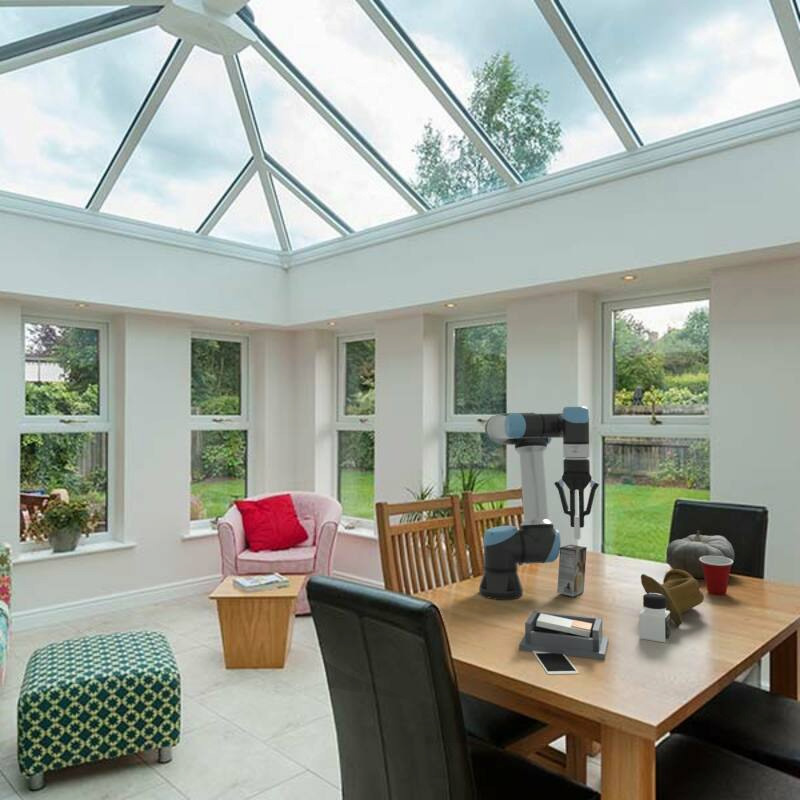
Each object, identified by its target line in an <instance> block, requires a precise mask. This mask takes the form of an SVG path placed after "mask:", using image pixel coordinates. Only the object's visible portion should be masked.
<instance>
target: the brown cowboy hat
mask: <svg viewBox="0 0 800 800" xmlns="http://www.w3.org/2000/svg"><path fill="white" fill-rule="evenodd" d="M640 580H641V585H642V587H643V589H644V592H645V594H648V593H657V594H661V595H663V596H665V597H666V610H667V611H670V619H672V620H671V621H673V623H674V626H675V627H678V628H679V627H680V626H681V625H682V618H681V616H682V614H684V613H686V612H688V611H690V610H691V609H693V608H695V607H697V606H699V605H701V604H702V603H703V602H704V599H705V595H704V593H703V592H701V590H700V585H699V582H698V580H697V579H695V577H693V576H691V575H690V574H689V573H688V572H686V571H684V570H678V569H673V568H672V569H670V570H668V571H667V572H666V573H665V575H664V577H663V580H662V581H663V582H662V584H661V583H660V582H658V581H657V580H656V579H654V578H653V577H651V576H649V575H647V574H645V573H642V574H641V576H640Z"/></svg>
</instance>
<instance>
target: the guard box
mask: <svg viewBox="0 0 800 800" xmlns="http://www.w3.org/2000/svg"><path fill="white" fill-rule="evenodd" d="M541 613H542V614H547V615H551V616H556V617H561V618H566V619H571V620H577V621H582V622H587V623H592V631H591V634H590V637H585V636H581V635H576V634H571V633H567V632H562V631H557V630H553V629H548V628H543V627H539V626H536V623H537V619H538V618H539V616H540V614H541ZM524 629H525V630H524V632H525V633H524V636H523V637H522V639H521V641H520V642H519V644H518V650H519V651H524V652H533V651H539V652H547V653H556V654H564V655H565V656H566V657H577V658H585V659H593V660H600V659H601V660H602V661H605V660H606V655H607V651H608V647H609V636H603V617H600V616H590V615H589V616H588V615H580V614H579V615H578V614H570V613H569V614H568V613H558V612H548V611H537V610H532V611H531V613H530V615H529V616H528V618H527V619H526V621H525V622H524Z"/></svg>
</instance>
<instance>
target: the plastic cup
mask: <svg viewBox="0 0 800 800" xmlns="http://www.w3.org/2000/svg"><path fill="white" fill-rule="evenodd" d="M699 560H700V561H701V564H702V567H703V572H704V582H705V586H706V590H707V593H708V594H709V595H715V596H724V595H726V594H727V590H728V584H729V578H730V572H731V568H732V566H733V563H734V561H733V560H732V559H729V558H726V557H722V556H703V557H700V559H699Z"/></svg>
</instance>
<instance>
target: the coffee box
mask: <svg viewBox="0 0 800 800" xmlns="http://www.w3.org/2000/svg"><path fill="white" fill-rule="evenodd" d="M587 550H588V549H587V546H580V545H575V544H568V545H563V546H560V551H559V561H558V574H557V589H556V592H557V594H560V595H561V594H562V595H565V596H569V597H576V596H577V595H580V594H583V593H584V592H585V577H586V564H587V563H586V561H587Z"/></svg>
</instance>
